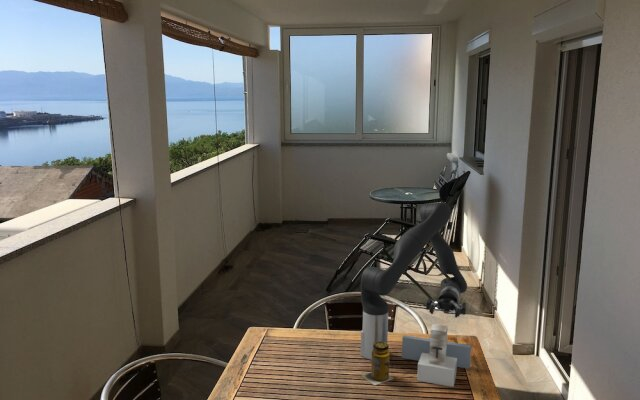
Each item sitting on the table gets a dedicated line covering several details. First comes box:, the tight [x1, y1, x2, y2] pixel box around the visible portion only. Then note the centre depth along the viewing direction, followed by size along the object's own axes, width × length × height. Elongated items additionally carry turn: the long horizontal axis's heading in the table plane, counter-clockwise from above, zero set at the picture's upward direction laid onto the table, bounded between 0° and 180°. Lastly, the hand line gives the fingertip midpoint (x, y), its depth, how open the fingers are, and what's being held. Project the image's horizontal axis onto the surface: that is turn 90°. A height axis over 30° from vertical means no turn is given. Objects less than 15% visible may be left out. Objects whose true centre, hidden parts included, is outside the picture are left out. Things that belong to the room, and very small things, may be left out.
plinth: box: [416, 353, 458, 388], centre depth 184 cm, size 12×9×6 cm
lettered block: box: [429, 323, 449, 366], centre depth 182 cm, size 5×5×12 cm
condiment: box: [361, 342, 395, 386], centre depth 183 cm, size 7×8×12 cm
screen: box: [401, 334, 472, 369], centre depth 195 cm, size 24×2×8 cm, turn 71°
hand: (443, 313), depth 193 cm, fingers open, 8 cm apart
